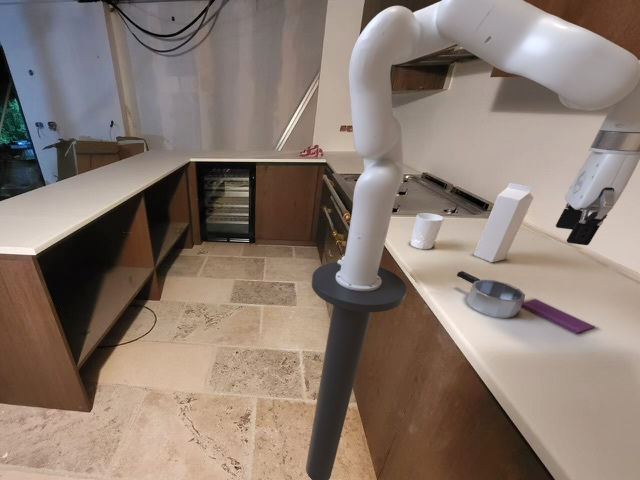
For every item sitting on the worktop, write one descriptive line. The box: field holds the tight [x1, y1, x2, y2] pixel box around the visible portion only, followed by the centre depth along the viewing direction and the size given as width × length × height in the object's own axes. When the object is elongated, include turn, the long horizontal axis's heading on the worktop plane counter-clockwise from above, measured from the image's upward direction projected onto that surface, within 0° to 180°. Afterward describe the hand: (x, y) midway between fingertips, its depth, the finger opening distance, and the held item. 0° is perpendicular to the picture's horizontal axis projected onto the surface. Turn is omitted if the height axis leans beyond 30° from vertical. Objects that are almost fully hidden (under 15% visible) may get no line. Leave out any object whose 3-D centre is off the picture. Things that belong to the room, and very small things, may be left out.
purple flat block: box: [520, 298, 595, 334], centre depth 73 cm, size 12×6×1 cm, turn 20°
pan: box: [456, 270, 526, 319], centre depth 78 cm, size 15×10×5 cm, turn 20°
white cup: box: [410, 212, 445, 250], centre depth 106 cm, size 8×8×10 cm
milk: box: [473, 182, 534, 263], centre depth 95 cm, size 6×6×22 cm
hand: (570, 235), depth 65 cm, fingers open, 9 cm apart
